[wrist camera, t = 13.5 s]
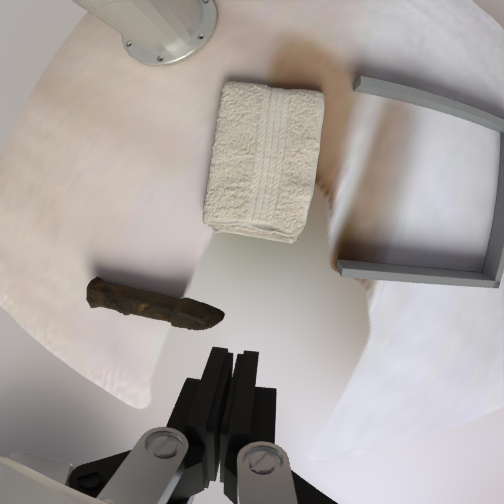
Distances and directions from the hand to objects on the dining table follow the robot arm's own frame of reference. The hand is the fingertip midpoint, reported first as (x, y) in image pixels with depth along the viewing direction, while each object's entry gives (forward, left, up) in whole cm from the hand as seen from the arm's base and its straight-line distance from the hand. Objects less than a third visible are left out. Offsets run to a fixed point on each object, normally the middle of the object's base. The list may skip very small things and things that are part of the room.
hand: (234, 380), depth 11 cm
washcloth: (-8, -1, -28) cm, 29 cm away
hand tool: (+10, -14, -28) cm, 32 cm away
